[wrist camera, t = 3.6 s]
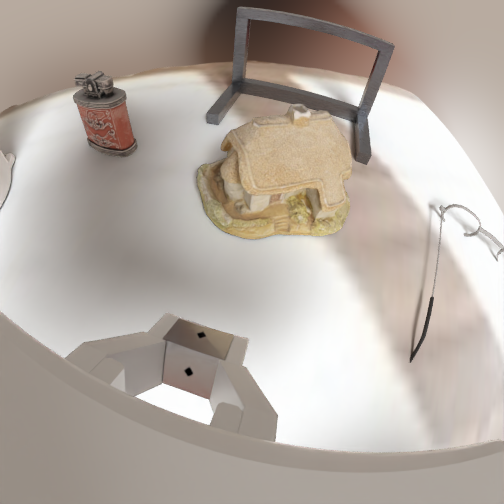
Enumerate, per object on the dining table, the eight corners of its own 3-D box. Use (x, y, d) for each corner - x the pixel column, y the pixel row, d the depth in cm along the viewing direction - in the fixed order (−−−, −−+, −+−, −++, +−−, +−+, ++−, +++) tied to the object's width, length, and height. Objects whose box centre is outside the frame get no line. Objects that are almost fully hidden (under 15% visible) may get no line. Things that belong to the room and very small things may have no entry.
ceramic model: (311, 150, 30) (333, 76, 22) (364, 225, 25) (412, 150, 17) (190, 173, 27) (182, 85, 18) (224, 269, 22) (225, 178, 13)
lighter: (143, 143, 28) (129, 68, 20) (124, 161, 27) (103, 83, 18) (101, 130, 30) (84, 67, 21) (83, 146, 28) (61, 81, 19)
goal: (207, 122, 31) (207, 19, 19) (234, 87, 36) (240, 6, 25) (366, 164, 30) (411, 68, 18) (363, 120, 35) (392, 43, 23)
